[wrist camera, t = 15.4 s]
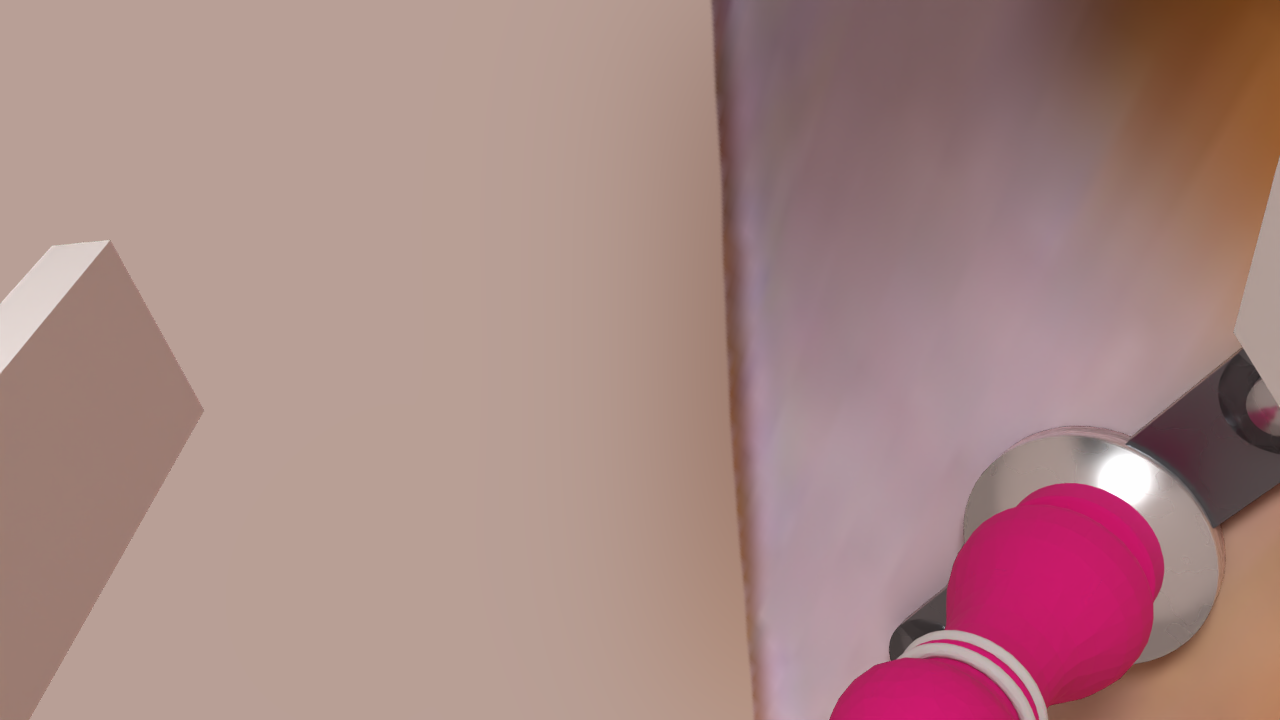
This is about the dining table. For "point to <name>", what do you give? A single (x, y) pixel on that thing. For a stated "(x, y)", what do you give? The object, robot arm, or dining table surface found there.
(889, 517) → the dining table surface
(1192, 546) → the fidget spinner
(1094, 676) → the pepper mill
